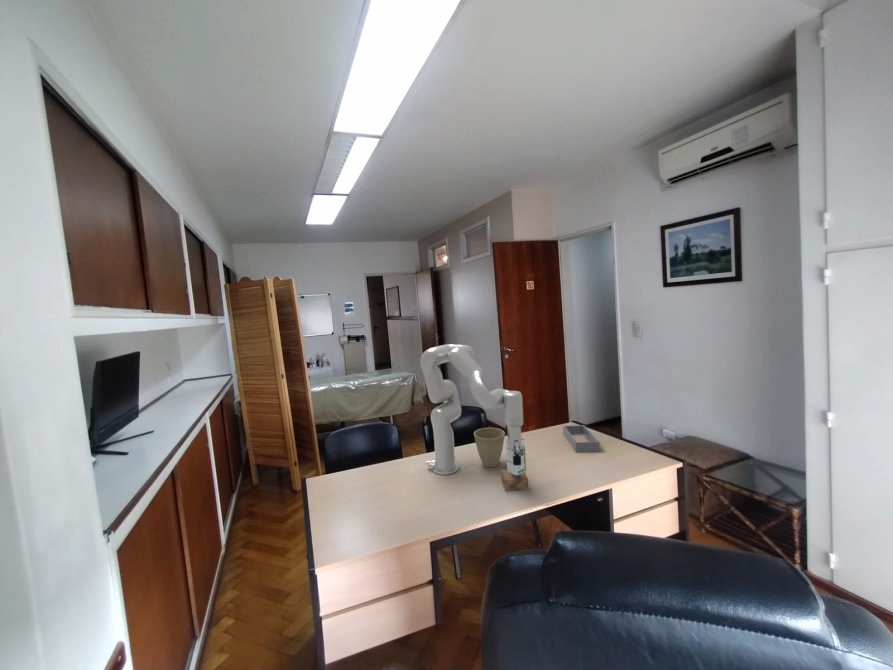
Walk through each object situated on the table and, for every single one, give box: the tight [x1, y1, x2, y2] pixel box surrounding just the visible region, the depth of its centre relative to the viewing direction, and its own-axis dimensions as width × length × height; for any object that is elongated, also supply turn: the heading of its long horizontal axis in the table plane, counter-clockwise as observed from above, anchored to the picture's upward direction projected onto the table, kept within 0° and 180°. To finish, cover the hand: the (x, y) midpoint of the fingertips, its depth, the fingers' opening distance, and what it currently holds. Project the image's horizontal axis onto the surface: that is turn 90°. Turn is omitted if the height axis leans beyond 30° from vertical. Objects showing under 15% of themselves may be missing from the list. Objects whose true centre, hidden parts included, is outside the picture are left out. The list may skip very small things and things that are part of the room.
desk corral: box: [562, 424, 601, 453], centre depth 206 cm, size 12×26×5 cm, turn 176°
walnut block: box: [500, 469, 530, 492], centre depth 165 cm, size 10×10×5 cm
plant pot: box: [473, 427, 506, 468], centre depth 185 cm, size 15×15×16 cm
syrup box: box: [505, 437, 527, 475], centre depth 161 cm, size 6×6×14 cm
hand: (516, 460), depth 161 cm, fingers closed on syrup box, 7 cm apart
